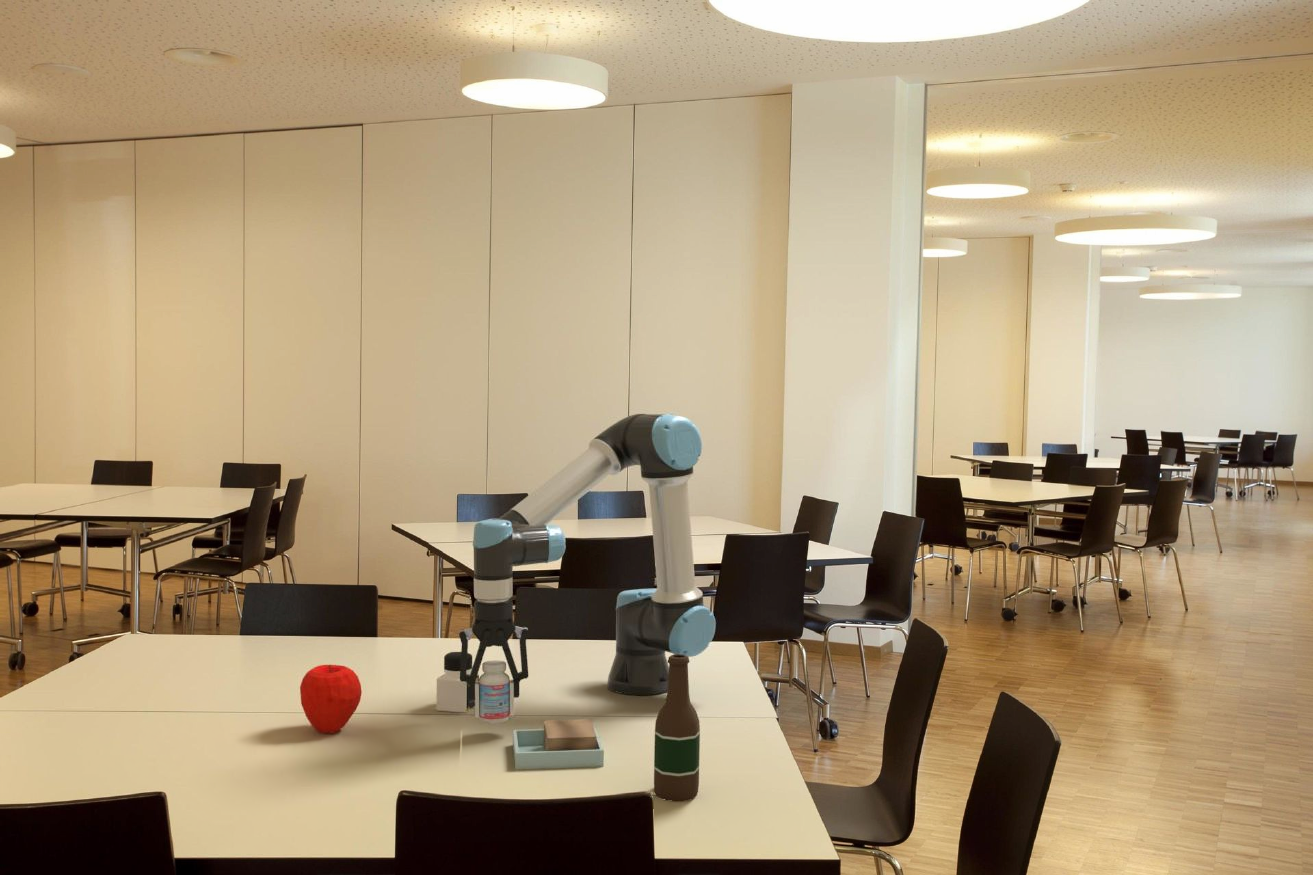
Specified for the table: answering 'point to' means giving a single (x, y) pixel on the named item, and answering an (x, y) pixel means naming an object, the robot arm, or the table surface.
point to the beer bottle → (677, 738)
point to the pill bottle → (494, 692)
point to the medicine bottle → (454, 685)
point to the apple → (330, 696)
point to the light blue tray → (551, 753)
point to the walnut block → (569, 735)
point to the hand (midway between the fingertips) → (494, 714)
